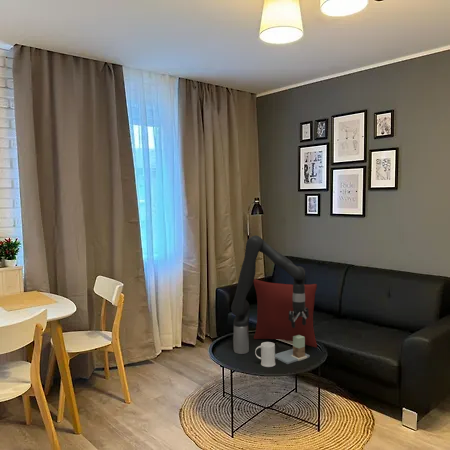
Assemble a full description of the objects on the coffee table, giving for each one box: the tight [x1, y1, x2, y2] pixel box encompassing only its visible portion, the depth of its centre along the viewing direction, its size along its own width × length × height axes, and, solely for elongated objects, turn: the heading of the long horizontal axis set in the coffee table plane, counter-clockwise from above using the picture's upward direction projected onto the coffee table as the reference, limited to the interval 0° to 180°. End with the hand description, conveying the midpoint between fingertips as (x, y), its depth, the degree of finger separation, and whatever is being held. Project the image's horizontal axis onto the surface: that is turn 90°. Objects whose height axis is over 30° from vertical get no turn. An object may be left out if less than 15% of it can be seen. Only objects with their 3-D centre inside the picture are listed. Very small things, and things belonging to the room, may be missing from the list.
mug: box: [254, 341, 276, 368], centre depth 256 cm, size 12×8×12 cm
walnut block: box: [292, 345, 306, 358], centre depth 264 cm, size 5×5×6 cm
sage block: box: [292, 335, 306, 348], centre depth 263 cm, size 5×5×6 cm
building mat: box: [275, 348, 311, 365], centre depth 265 cm, size 14×18×1 cm
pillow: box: [253, 278, 318, 349], centre depth 288 cm, size 44×15×42 cm, turn 65°
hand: (298, 326), depth 262 cm, fingers open, 8 cm apart
